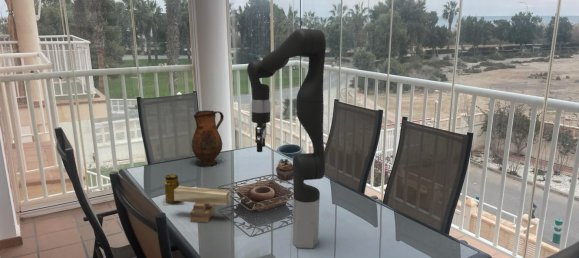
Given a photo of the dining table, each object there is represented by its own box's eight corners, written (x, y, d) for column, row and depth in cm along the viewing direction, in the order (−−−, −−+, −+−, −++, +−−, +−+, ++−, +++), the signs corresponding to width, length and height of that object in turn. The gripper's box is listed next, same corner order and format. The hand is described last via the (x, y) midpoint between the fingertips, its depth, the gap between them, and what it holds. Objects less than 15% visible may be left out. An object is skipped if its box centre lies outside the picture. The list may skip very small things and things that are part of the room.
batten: (226, 205, 169) (226, 194, 168) (174, 200, 173) (173, 190, 172) (230, 201, 173) (229, 190, 172) (179, 196, 177) (178, 186, 176)
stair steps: (207, 222, 170) (207, 206, 168) (190, 221, 170) (189, 205, 169) (214, 212, 179) (214, 196, 178) (198, 211, 180) (197, 195, 178)
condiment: (166, 198, 193) (165, 173, 190) (185, 198, 194) (184, 172, 191) (163, 205, 186) (161, 178, 183) (183, 204, 187) (182, 178, 184)
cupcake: (297, 180, 219) (297, 161, 217) (279, 182, 215) (279, 163, 213) (290, 174, 228) (290, 156, 225) (273, 176, 224) (273, 157, 222)
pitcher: (186, 164, 241) (183, 112, 234) (213, 156, 257) (212, 107, 250) (206, 170, 231) (204, 116, 224) (234, 161, 248) (233, 110, 241)
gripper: (268, 113, 165) (268, 154, 169) (272, 107, 179) (272, 145, 183) (248, 113, 166) (249, 153, 169) (254, 107, 180) (254, 144, 183)
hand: (261, 149), depth 176 cm, fingers open, 8 cm apart
